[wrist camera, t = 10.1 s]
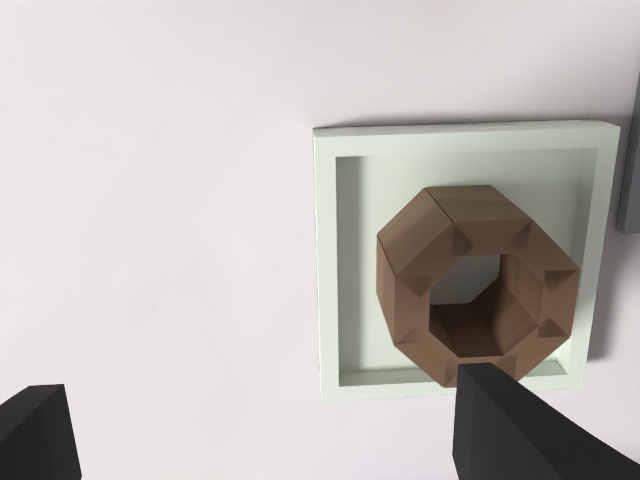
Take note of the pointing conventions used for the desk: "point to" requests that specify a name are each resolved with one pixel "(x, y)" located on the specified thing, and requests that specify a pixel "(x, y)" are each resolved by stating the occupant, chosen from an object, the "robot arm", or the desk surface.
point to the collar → (492, 303)
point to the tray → (472, 271)
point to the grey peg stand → (631, 178)
